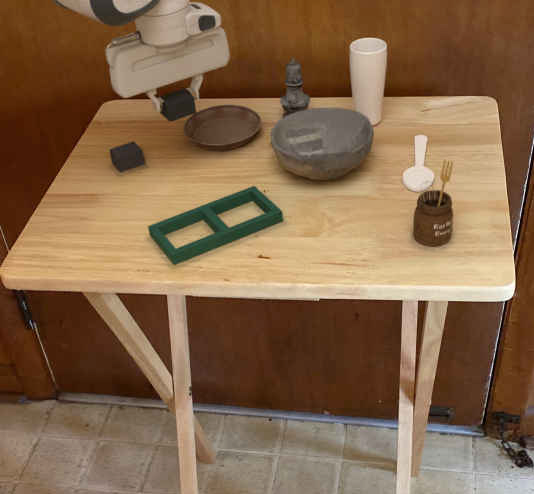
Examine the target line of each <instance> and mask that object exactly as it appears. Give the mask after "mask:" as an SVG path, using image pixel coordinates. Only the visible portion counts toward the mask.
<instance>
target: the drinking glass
mask: <svg viewBox="0 0 534 494" xmlns="http://www.w3.org/2000/svg"><path fill="white" fill-rule="evenodd" d="M348 56H349V57H348V60H349V77H350V87H351V96H352V98H351V99H352V108H353V109H352V110H354V111H357V112H359V113H361V114H363V115H365V116H366V117H368V119H369V121H370V122H371V125H372V127H373V126H376V125H379V124H380V122H381V121H382V118H383V105H384V95H385V85H386V77H387V69H388V45H387V43H386V42H385V40H383V39H381V38H376V37H363V38H359V39H356V40H353V41H352V42H351V43H350V44H349V55H348Z"/></svg>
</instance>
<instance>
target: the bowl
mask: <svg viewBox="0 0 534 494" xmlns="http://www.w3.org/2000/svg"><path fill="white" fill-rule="evenodd" d="M269 135H270V145H271V148H272V150H273V152H274V154H275V156H276V159H277V160H278V161H279V163H280V165H281V166H282V167H283V168H284V169H285V170H287V171H289V172H290V173H291V174H295V175H296V176H300V177H303V178H308V179H310V180H314V181H315V180H316V181H325V180H326V181H327V180H329V181H330V180H335V179H336V178H339V177H342V176H343V175H344V174H346V173H349V172H350V171H351V170H354V169H355V168H356V167H357V166H359V165H360V164H361V163H362V162H363V161H364V160H366V158H367V157H368V155H369V154H370V151H371V150H372V146H373V141H374V135H375V131H374V127H373V126H372V125H371V122H370V121H369V119H368V117H366V116H365V115H363V114H361V113H359V112H357V111H354V109H351V108H350V109H349V108H345V107H337V106H336V107H334V106H333V107H313V108H307V110H303V111H299V112H296V113H293V114H290V115H288V116H286V117H284V118H283V117H282V118H280V119H279V120H278V121H276V122H275V123H274V124H273V126H272V129H271V131H270V134H269Z"/></svg>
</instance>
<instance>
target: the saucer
mask: <svg viewBox="0 0 534 494" xmlns="http://www.w3.org/2000/svg"><path fill="white" fill-rule="evenodd" d="M261 126H262V118H261V115H260V114H259V113H258V112H256V111H255V110H253V109H252V108H250V107H247V106H243V105H239V104H237V105H236V104H221V105H219V104H218V105H214V106H210V107H206V108H203V109H201V110H198V111H196V113H195V114H192V115H190V116H188V118H187V119H186V120H185V122H184V123H183V133H184V135H185V136H186V137H187V138H188V139H189V140H190V141H191V142H193V143H194V144H196V145H197V146H199V147H202V148H204V149H207V150H212V151H227V150H232V149H236V148H239V147H241V146H243V145H245V144H246V143H248V142H249V141H250V140H251V139H252V138H254V136H256V134H257V133H258V131H260V128H261Z"/></svg>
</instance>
